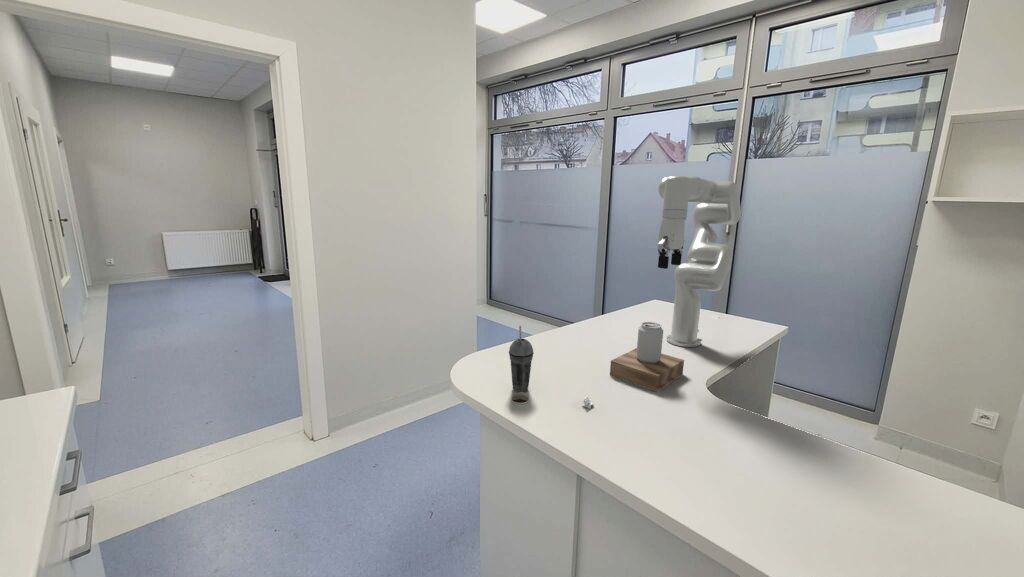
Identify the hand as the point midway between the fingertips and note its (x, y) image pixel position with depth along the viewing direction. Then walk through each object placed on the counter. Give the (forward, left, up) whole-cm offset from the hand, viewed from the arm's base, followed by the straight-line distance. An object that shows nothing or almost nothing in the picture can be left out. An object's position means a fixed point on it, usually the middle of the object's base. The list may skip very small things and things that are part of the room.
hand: (669, 266), depth 142 cm
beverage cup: (+53, -18, -34) cm, 65 cm away
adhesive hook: (+47, +3, -34) cm, 58 cm away
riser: (+16, +3, -33) cm, 37 cm away
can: (+16, +3, -28) cm, 33 cm away
